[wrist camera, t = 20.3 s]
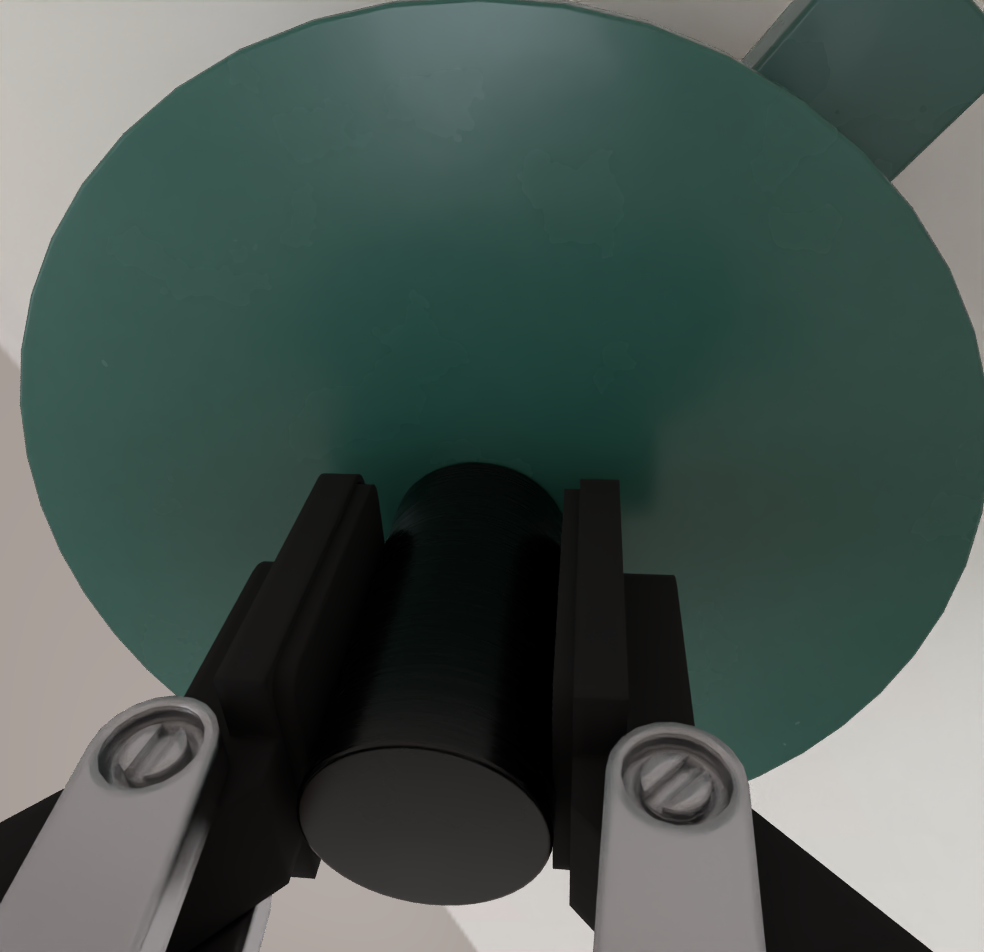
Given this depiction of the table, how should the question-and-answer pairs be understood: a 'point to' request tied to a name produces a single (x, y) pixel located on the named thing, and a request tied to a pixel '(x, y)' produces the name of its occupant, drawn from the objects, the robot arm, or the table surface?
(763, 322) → the lid
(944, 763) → the table surface
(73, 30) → the table surface
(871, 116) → the pot
